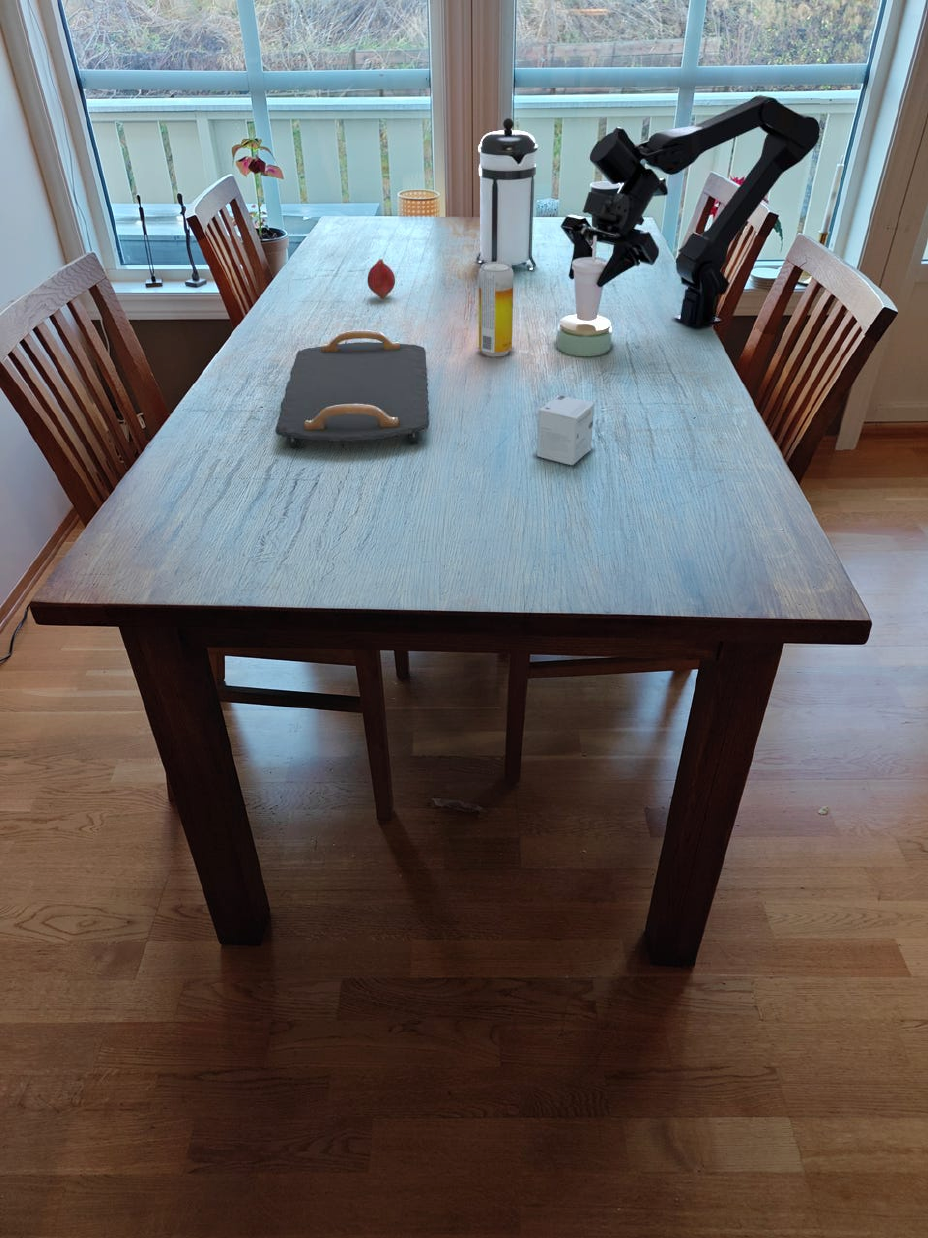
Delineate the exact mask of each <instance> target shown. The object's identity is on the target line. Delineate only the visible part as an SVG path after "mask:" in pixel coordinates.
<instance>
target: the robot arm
mask: <svg viewBox="0 0 928 1238" xmlns="http://www.w3.org/2000/svg"><path fill="white" fill-rule="evenodd" d="M757 128H759V129H761V131H763V132H764V133H766V136H765V138H764V141H763V144H762V149H761V154H760V157H759V158H758V160H757V162H756V163H755V165H754V166H753V167H752V169H751V170H750V171H749V173H748V174H747V175H746V177H745V178H744V179H743V181H742V182H741V184H740V185H739V186H738V188H737V189H736V191H735V192H734V194H732V196H731V197H730V199H729V200H728V202H727V203H726V204H725V206H724V207H723V209H722V210H721V211H720V212H719V214H718V216H717V217H716V218H715V219H714V221H713V223H712V224H711V225H710V226H709V228H707V230H705V231H704V232H702V233H701V234H699V233H697V232H694V231H693V232H692V233H690V234H689V236H688V238H687V240H686V242H685V243H684V245H682V246H681V247H680V248H679V249H678V250H677V251H678V252H679V254H678V255H677V257H676V260H675V270H676V273H677V274H678V276H679V277H680V282H681V285H683V286H686V287H687V288H686V289H684V295H683V296H684V297H683V298H682V301H681V302H682V304H681V310H680V315H677V316H675V318H674V320H676V321H678V322H679V323H683V324H684V325H688V326H690V327H693V328H695V329H701V328H705V327H709V326H712V325H716V324H720V323H721V322H722V319H721V318H719V317H716V315H717V310H718V306H719V305H718V304H719V299H720V296H723V295H725V294H726V293H727V290H728V288H729V286H730V282H729V281H728V279H727V277H725V275H724V274H723V273H722V269H723V268H724V266H725V264H726V262H727V258H728V253H729V248H730V245H731V243H732V242H733V241H734V239H735V238H736V237H737V235H738V234H739V233H740V232H741V230H742V229H743V227H744V226H745V225H746V223H747V222H748V220H749V219H750V218H751V216H752V215H753V214H754V212H755V211H756V210H757V208H758V207H759V206H760V204H761V203H762V202H763V200H764V199H765V198H766V197H767V195H768V194H769V192H770V191H771V190H772V188H773V187H774V185H775V184H776V183H777V181H778V180H779V178H780V177H781V176H782V175H783V174H784V173H785V172H787V171H789V170H790V169H791V168H793V167H795V166H796V165H798V164H799V163H800V162H802V160H804V159H805V157H806V156H807V155H809V153H810V152H811V151H812V150H813V149H814V148H815V147H816V145H817V143H818V142H819V140H820V137H821V135H820V129H821V128H820V124H819V122H818V119H816V118H815V117H814V116H809V115H805V114H801V113H798V112H796V111H794V110H793V109H790V108H789V107H787V106H786V105H783V104H782V103H781V102H780V101H779V100H777V99H776V98H775V97H772V96H768V95H767V96H766V95H762V94H758V95H755V96H753V97H752V98H751V99H749V100H747V101H745V102H743V103H740V104H739V105H736V106H734V107H732V108H729V109H727V110H726V111H723V112H721V113H719V114H716V115H714V116H712V117H710V118H707V119H705V120H703V121H701V122H698V123H697V124H694V125H691V126H683V127H674V128H670V129H666V130H661V131H657V132H655V133H653V134H652V135H651V136H650V137H649V138H648V140H646V141H644V142H640V143H637V144H635V143H634V142H633V141H632V140H631V139H630V137H629V135H628V133H627V131H625V129H624V128H623V127H619V126H616V127H615V128H614V129H613V131H611V132H610V133H608V134H606V135H605V136H603V137H602V138H601V139H600V140H598V141H596V142H595V143H596V144H595V145H594V146H593V147H592V150H591V151H590V154H589V161H590V163H591V164H593V166H594V167H595V168H596V169H597V170H598V171H599V173H601V174H602V175H603V177H604V178H605V179H606V181H609V182H610V183H611V184H618V183H620V184H621V187H620V189H619V191H618V193H616V194H615V195H614V196H613V195H610V196H607V195H603V194H598V193H593V192H591V191H588V193H587V196H586V199H585V202H584V205H583V208H582V213H584V214H589V215H591V216H592V215H593V216H594V218H593V219H592V218H591V221H592V220H593V221H594V223H595V224H597V225H598V227H597V229H596V228H593V227H592V224H590V223H589V221H588V219H587V218H586V217H585V216H578V215H575V214H569V215H566V216H565V218H564V219H563V221H562V223H561V225H560V229H561V230H562V231H563V233H564V234H565V235H566V237H567V238H568V239H569V241H570V243H572V244H573V251H572V257H571V261H570V268H569V272H568V278H569V279H570V280H571V281H572V280H573V281H574V270H573V269H572V262H573V261H574V260H575V259H578V258H583V257H592V252H593V237H594V236H597V241H596V242H598V243H602V244H606V245H610V246H613V248H612V254H611V255H610V258H609V259H608V260H607V261H608V263H607V264H606V266H605V268H604V270H603V271H602V273H601V275H600V277H599V279H598V281H597V286H598V287H602V286H603V287H604V286H605V285H607V284H608V283H610V282H611V281H612V280H614V279H616V278H617V277H618V276H620V275H621V274H623V273H625V272H627V271H628V270H630V269H632V268H634V267H639V266H640V265H641V263H642V264H646V265H650V266H653V265H654V264H655V263H656V261H657V259H658V257H659V255H660V247H659V246H658V244H657V242H656V240H655V239H654V237H653V235H652V234H651V232H650V231H646V230H642V229H637V228H636V227H637V226H642V225H643V224H644V222H645V219H644V217H643V214H644V213H645V211H646V210H647V209H648V206H649V204H650V203H651V201H652V200H653V198H654V197H662V196H663V197H665V196H667V195H668V194H669V191H668V186H667V179H666V178H665V177H664V178H663V177H662V178H659V176H658V175H657V174H656V173H655V171H653V170H656V171H659V172H661V173H663V174H665V175H669V176H673V175H677V174H679V173H681V172H682V171H684V170H685V169H686V168H688V167H690V166H691V165H692V164H693V163H695V162H696V160H697V159H698V158H699V157H700V156H701V155H702V154H704V153H705V152H707V151H708V150H711V149H713V148H715V147H717V146H720V145H722V144H725V143H727V142H728V141H730V140H733V139H735V138H738V137H739V136H742V135H744V134H746V133H749V132H751V131H753V130H755V129H757ZM643 164H645V165H648V167H650V168H646V167H645V166H644V165H643Z"/></svg>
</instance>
